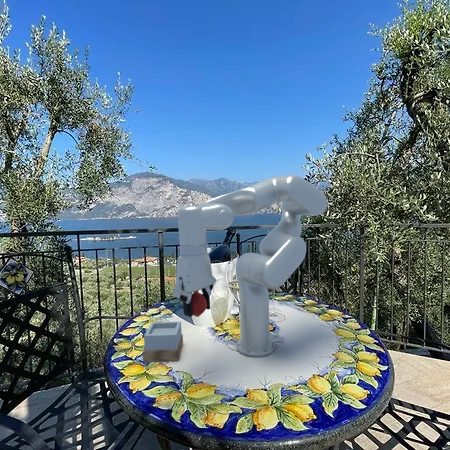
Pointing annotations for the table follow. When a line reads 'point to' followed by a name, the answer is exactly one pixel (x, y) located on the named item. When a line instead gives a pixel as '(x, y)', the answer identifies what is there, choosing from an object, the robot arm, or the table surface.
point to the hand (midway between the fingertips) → (197, 311)
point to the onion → (198, 303)
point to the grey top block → (163, 336)
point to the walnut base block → (163, 354)
